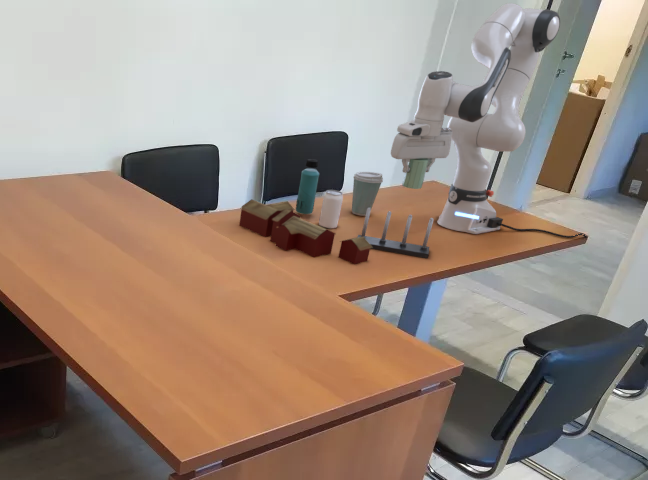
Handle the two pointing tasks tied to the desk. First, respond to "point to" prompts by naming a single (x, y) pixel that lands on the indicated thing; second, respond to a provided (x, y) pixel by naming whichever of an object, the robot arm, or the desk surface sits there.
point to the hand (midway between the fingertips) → (415, 172)
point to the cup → (415, 173)
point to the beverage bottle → (307, 188)
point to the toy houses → (298, 232)
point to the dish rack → (395, 245)
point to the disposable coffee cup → (365, 191)
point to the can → (331, 209)
